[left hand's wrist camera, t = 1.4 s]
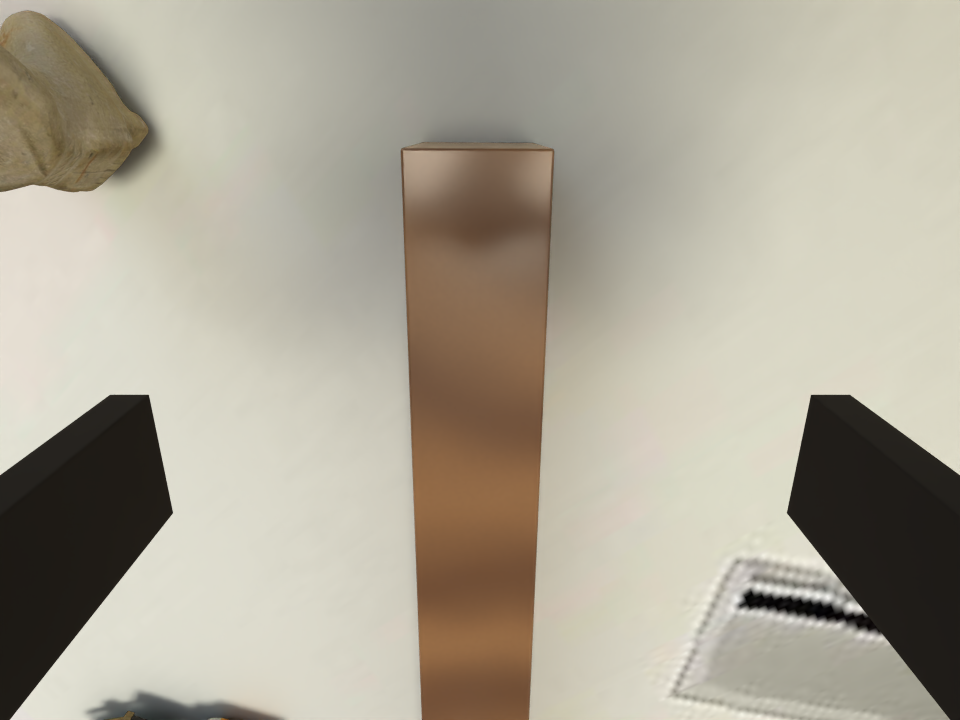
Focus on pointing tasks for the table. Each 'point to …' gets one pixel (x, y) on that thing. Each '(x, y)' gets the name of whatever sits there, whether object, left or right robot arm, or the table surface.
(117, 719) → the spray gun
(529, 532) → the beam
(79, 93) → the sculpture
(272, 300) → the table surface
